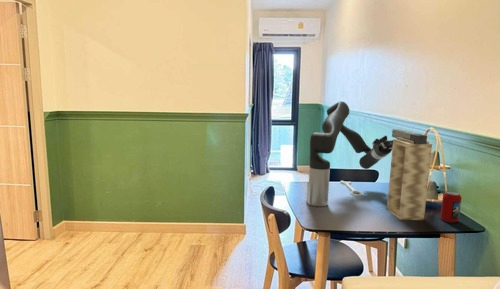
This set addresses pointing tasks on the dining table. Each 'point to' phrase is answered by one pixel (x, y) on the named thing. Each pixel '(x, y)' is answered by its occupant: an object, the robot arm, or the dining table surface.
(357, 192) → the wrench
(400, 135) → the gray block
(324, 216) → the dining table surface
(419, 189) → the beige patterned box
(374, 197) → the dining table surface
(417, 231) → the dining table surface
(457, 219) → the beverage can
